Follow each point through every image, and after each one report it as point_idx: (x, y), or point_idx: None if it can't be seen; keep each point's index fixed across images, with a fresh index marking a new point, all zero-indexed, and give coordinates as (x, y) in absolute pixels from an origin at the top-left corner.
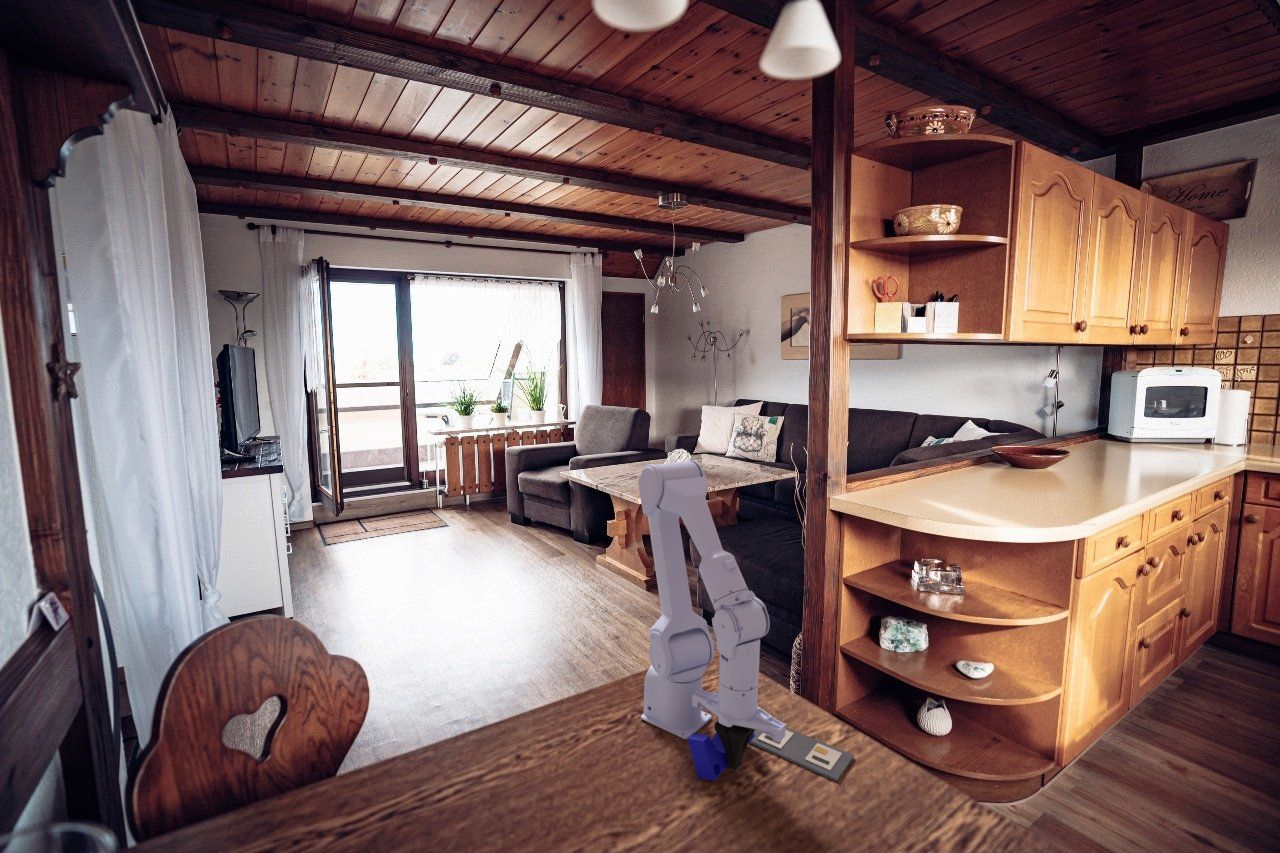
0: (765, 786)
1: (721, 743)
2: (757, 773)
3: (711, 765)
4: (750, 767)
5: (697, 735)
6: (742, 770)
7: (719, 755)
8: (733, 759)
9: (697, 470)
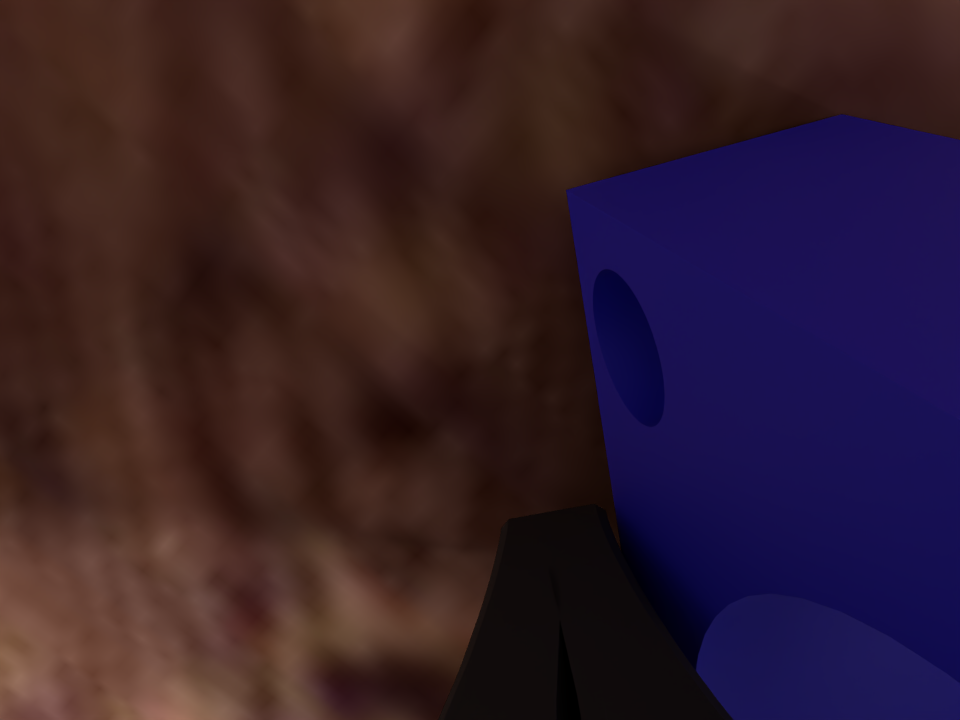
0: (200, 585)
1: (900, 710)
2: (390, 649)
3: (674, 288)
4: None
5: None
6: None
7: (710, 541)
8: (511, 623)
9: None
